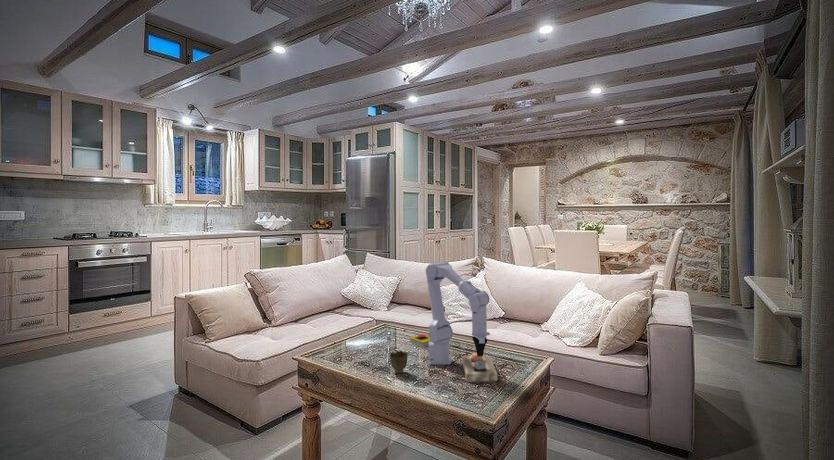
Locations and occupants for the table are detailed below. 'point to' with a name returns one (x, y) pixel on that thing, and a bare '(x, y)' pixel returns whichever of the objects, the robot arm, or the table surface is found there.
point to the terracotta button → (476, 357)
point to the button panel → (479, 376)
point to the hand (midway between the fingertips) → (479, 355)
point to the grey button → (480, 366)
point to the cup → (398, 361)
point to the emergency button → (421, 341)
